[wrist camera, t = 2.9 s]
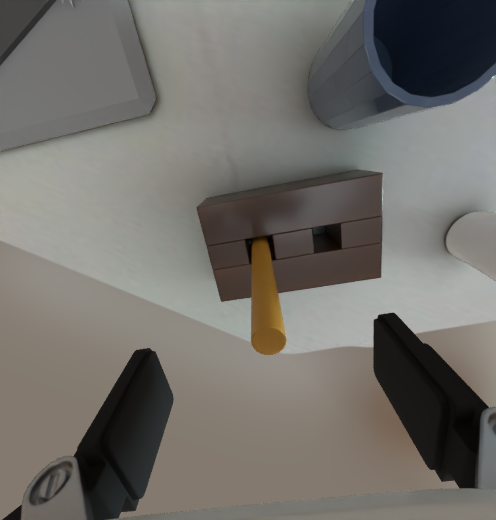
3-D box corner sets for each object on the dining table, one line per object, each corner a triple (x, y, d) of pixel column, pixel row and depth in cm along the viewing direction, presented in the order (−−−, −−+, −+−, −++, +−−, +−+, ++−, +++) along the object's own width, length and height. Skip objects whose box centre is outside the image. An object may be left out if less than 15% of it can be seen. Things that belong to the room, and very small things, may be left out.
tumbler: (303, 40, 21) (362, -92, 10) (395, 19, 20) (571, -149, 9) (311, 137, 23) (364, 121, 12) (392, 121, 23) (523, 89, 12)
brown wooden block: (206, 197, 26) (196, 207, 21) (358, 169, 24) (383, 172, 20) (225, 279, 29) (221, 302, 25) (360, 257, 28) (381, 277, 23)
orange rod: (250, 227, 27) (248, 329, 11) (265, 225, 27) (284, 325, 11) (253, 241, 27) (254, 357, 12) (267, 239, 27) (288, 353, 12)
